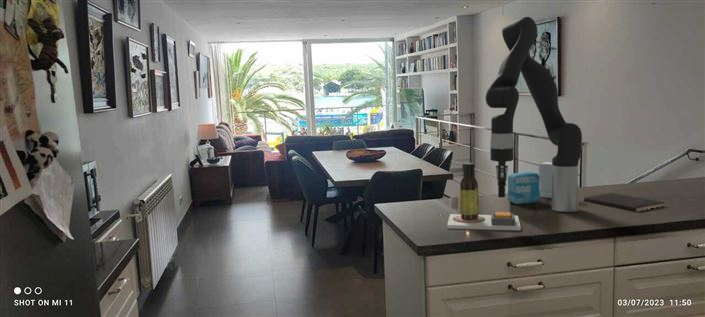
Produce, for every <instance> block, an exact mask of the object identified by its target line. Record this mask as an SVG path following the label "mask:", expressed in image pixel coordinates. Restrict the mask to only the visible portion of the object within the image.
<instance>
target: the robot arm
mask: <svg viewBox="0 0 705 317" xmlns="http://www.w3.org/2000/svg"><path fill="white" fill-rule="evenodd" d="M501 32H502V33H501V34H502V38H503V41H504V43H505V45H506V47H507V49H508V51H509V53H507V55H506V56H505V57H504V59H503V60H502V62H501V64H500V66H499V70H498V74H497V76H496V77H495V79H494V81H493V82H492V83H491V85H490V86H489V88H487V91H486V94H485V103H486V105H487V106H488V107H489V108H491V109H505V111H504V113H501V114H497V115H494V116H492V117H491V121H490V123H491V124H490V126H491V127H490V128H491V132H490V133H491V135H490V143H489V144H490V146H489V148H490V151H489V152H490V160H491V162H497V163H498V164H496V165H495V172H496V180H497V186H498V187H497V188H498V189H497V191H498V192H497V193H498V194H497V196H498V198H505V197H506V186H507V181H508V172H509V165H506V163H507V162H513V161H514V151H515V150H514V147H515V146H514V143H515V142H514V118H515V114H516V109H517V106H518V102H519V100H520V93H519V90H518V89H517V88H516V86H517V84H518V83H519V78H520V76H521V75H522V77H523V80H524V81H525V84H526V86H527V88H528V90H529V93H530V95H531V97H532V99H533V101H534V103H535V106H536V108H537V110H538V112H539V114H540V117H541V119H542V121H543V124H544V128H545V131H546V134H547V137H548V139H549V141H550V143H552V144H553V145H554V146H556V147H557V152H556V155H555V156H553V157H552V158H551V159H552V160H551V162H552V198H551V211H552V210H553V211H555V212H560V213H561V212H563V213H572V212H579V211H580V209H579V208H580V186H579V161H580V159H581V156H582V144H583V143H582V142H583V135H582V131H581V128H580V127H579V125H577V124H576V123H572V122H566V121H565V118H564V117H563V115H562V113H561V110H560V107H559V95H558V87H557V84H556V82H555V80H554V77H553V75H552V72H550V70H549V69H548V68H547V67H545V66H544V65H542V64H541V63H540V62H538V61H536V60H535V59H534V58H533V57H531V56H530V55H529V52H530V50H531V49H532V46H533V45H534V43H535V41H536V38H537V36H538V26H537V23H536V21H535V20H534V19H533V18H532V17H530V16H523V17H520V18H518V19H516V20H514V21H511V22H509V23H507V24H506V25H504V26H503V27H502V29H501Z"/></svg>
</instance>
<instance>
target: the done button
mask: <svg viewBox="0 0 705 317" xmlns="http://www.w3.org/2000/svg"><path fill="white" fill-rule="evenodd" d="M494 213H495V218H511V214H512V213H511V212H510V211H495V212H494ZM510 213H511V214H510Z"/></svg>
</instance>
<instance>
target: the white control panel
mask: <svg viewBox="0 0 705 317" xmlns="http://www.w3.org/2000/svg"><path fill="white" fill-rule="evenodd" d="M510 214H511V218H495V212H491V213H490V214H478V218H477V219H475V220H463V219H462V218H461V213H460V214H459V213H454V214H453V213H450V214H449V216H448V221H447V224H446V229H450V230H451V229H455V230H456V229H457V230H490V231H495V230H496V231H521V230H522V228H521V223H520V219H519V216H518V215H515V214H514V213H511V212H510Z"/></svg>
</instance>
